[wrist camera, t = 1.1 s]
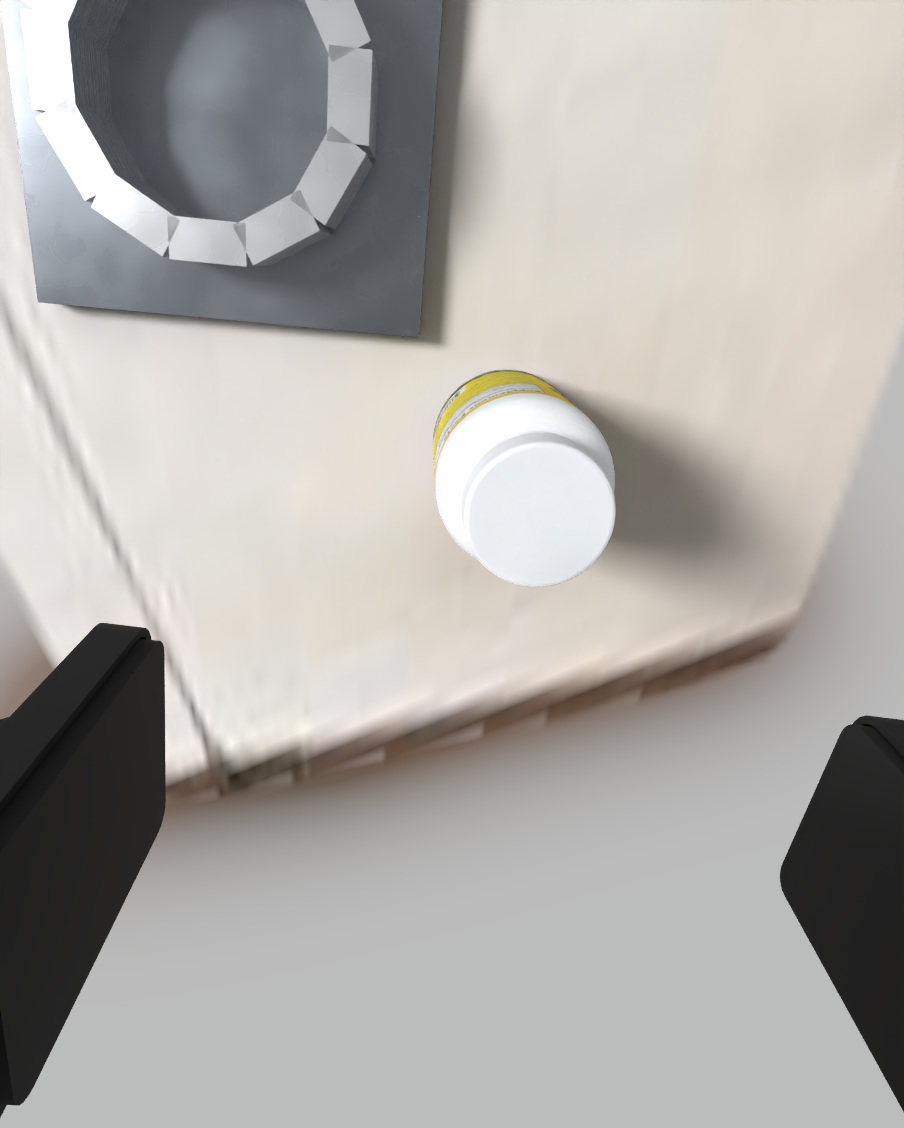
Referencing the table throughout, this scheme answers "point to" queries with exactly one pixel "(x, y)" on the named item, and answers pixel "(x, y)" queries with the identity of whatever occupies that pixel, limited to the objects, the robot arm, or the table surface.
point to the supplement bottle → (523, 479)
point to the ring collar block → (228, 156)
